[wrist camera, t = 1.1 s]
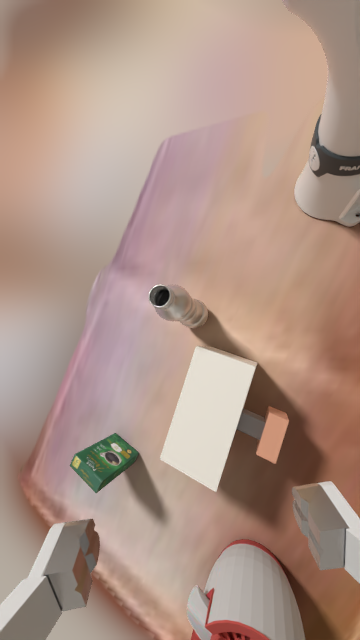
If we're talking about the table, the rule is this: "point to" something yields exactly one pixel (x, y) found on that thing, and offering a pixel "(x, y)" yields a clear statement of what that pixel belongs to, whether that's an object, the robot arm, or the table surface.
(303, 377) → the table surface
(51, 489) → the table surface
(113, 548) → the table surface
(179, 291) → the plastic bottle
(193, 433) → the box
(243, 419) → the key
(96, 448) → the coffee box
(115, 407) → the table surface
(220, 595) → the citrus juicer
